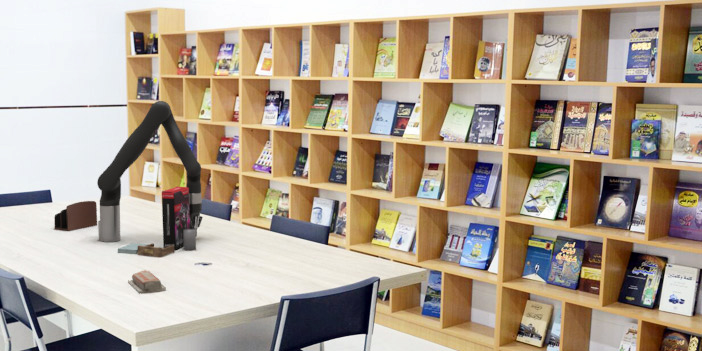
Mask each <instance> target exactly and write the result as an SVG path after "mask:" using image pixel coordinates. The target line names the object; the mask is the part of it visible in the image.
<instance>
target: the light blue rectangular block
mask: <svg viewBox="0 0 702 351" xmlns="http://www.w3.org/2000/svg"><path fill="white" fill-rule="evenodd" d="M149 244H150V243H139V242H138V243H136V242H132V243H131V242H130V243H129V244H126V245H125V246H121V247H119V248H117V254H126V255H127V254H129V255H138V246H139V245H140V246H146V245H149Z"/></svg>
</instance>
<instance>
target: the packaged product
mask: <svg viewBox="0 0 702 351" xmlns="http://www.w3.org/2000/svg"><path fill="white" fill-rule="evenodd" d="M131 278H132V279H130V280H127V283H128V284H129V285H130V286H131V287H132V288H133V287H134V288H133V289H134V290H135V289H136V290H135V291H136V292H138V293H139V294H140V293H141V294H148V292H150V293H155V292H156V291H158V292H165V291H167V287H166V286H165V285H164V284H163V283H162V282H161V279H159V278H158V277H157V276H156V275H155V274H154V273H152V272H151V271H149V270H146V269H144V270H141V271H138V272H136V273H133V274H132V275H131Z"/></svg>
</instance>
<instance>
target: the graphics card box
mask: <svg viewBox="0 0 702 351" xmlns="http://www.w3.org/2000/svg"><path fill="white" fill-rule="evenodd" d="M161 212H162V217H161V218H162V239H163V248H166V247H169V246H174V251H175V250H179V249H180V248H182V247H183V230H185V229H190V214H189V188H188V187H186V186H175V187H171V188H169V189H165V190H162V191H161Z"/></svg>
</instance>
